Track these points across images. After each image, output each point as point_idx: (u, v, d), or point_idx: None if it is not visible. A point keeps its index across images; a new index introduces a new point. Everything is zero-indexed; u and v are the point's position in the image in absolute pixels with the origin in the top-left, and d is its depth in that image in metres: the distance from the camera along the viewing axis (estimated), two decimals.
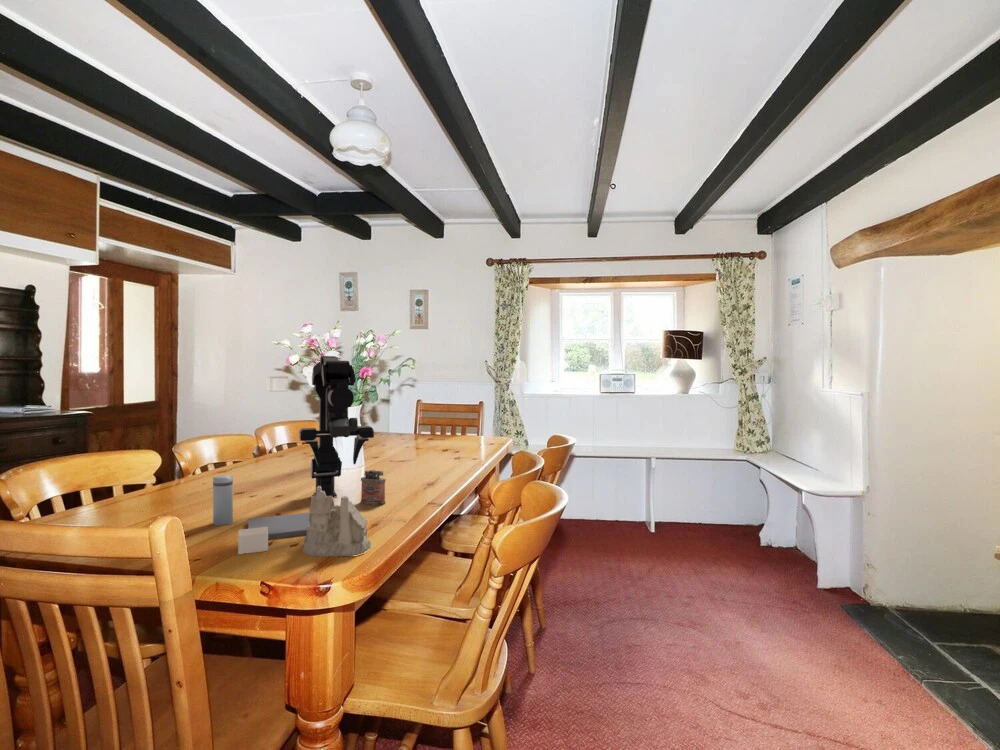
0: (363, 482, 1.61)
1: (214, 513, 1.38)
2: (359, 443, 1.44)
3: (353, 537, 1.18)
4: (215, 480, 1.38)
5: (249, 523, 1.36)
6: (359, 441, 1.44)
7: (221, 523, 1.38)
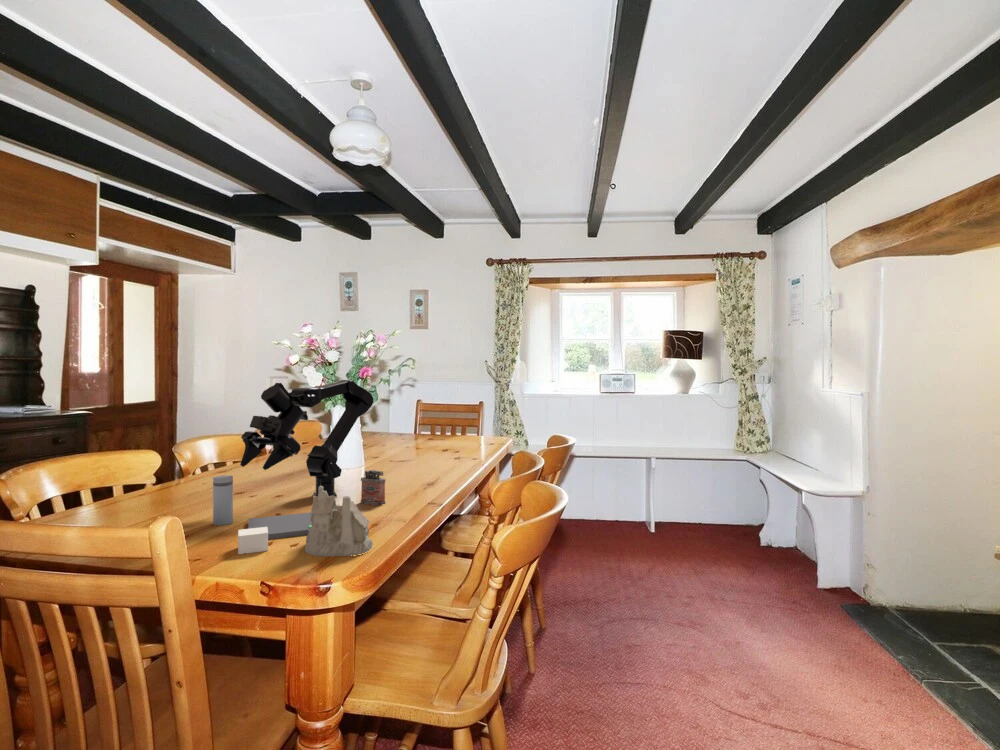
0: (363, 482, 1.61)
1: (214, 513, 1.38)
2: (274, 447, 1.46)
3: (355, 537, 1.19)
4: (215, 480, 1.38)
5: (249, 523, 1.36)
6: (274, 444, 1.46)
7: (221, 523, 1.38)
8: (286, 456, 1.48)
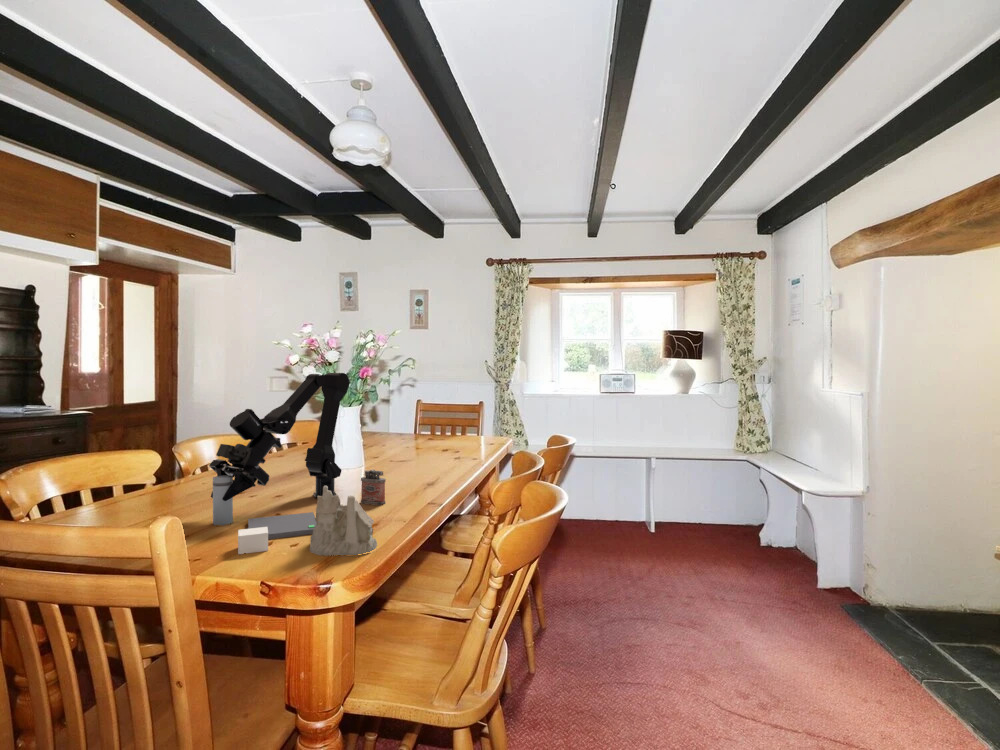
0: (363, 482, 1.61)
1: (214, 513, 1.38)
2: (235, 477, 1.39)
3: (360, 536, 1.19)
4: (215, 480, 1.38)
5: (249, 523, 1.36)
6: (235, 473, 1.39)
7: (221, 523, 1.38)
8: (248, 486, 1.41)
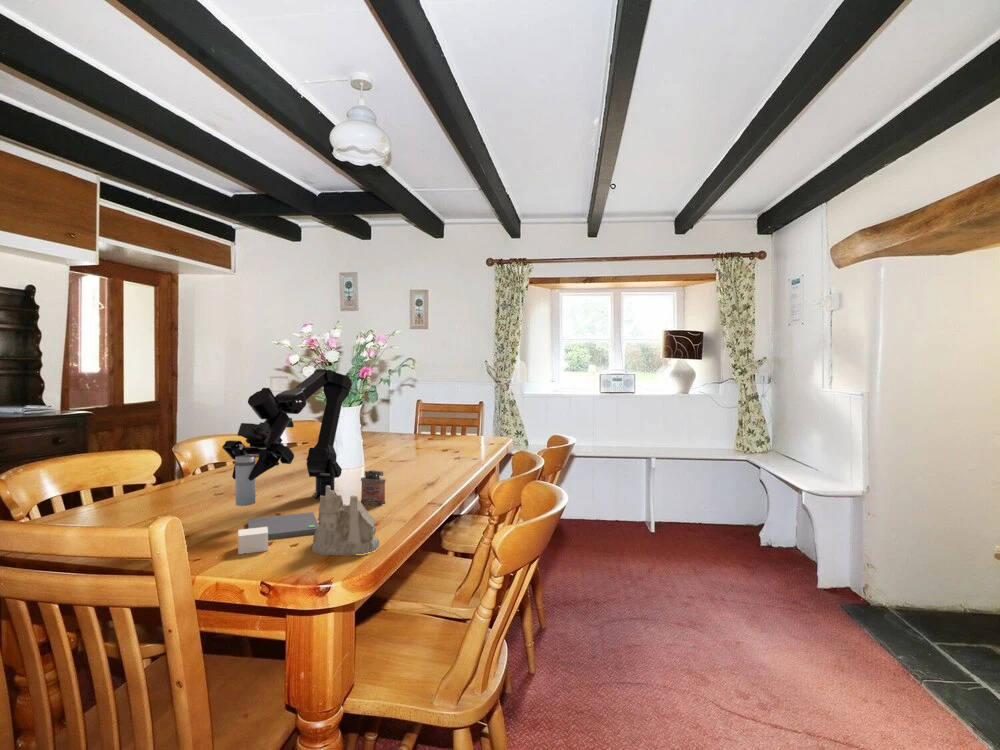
0: (363, 482, 1.61)
1: (239, 493, 1.35)
2: (260, 456, 1.37)
3: (363, 536, 1.19)
4: (239, 460, 1.34)
5: (249, 523, 1.36)
6: (260, 452, 1.37)
7: (246, 503, 1.35)
8: (272, 465, 1.40)
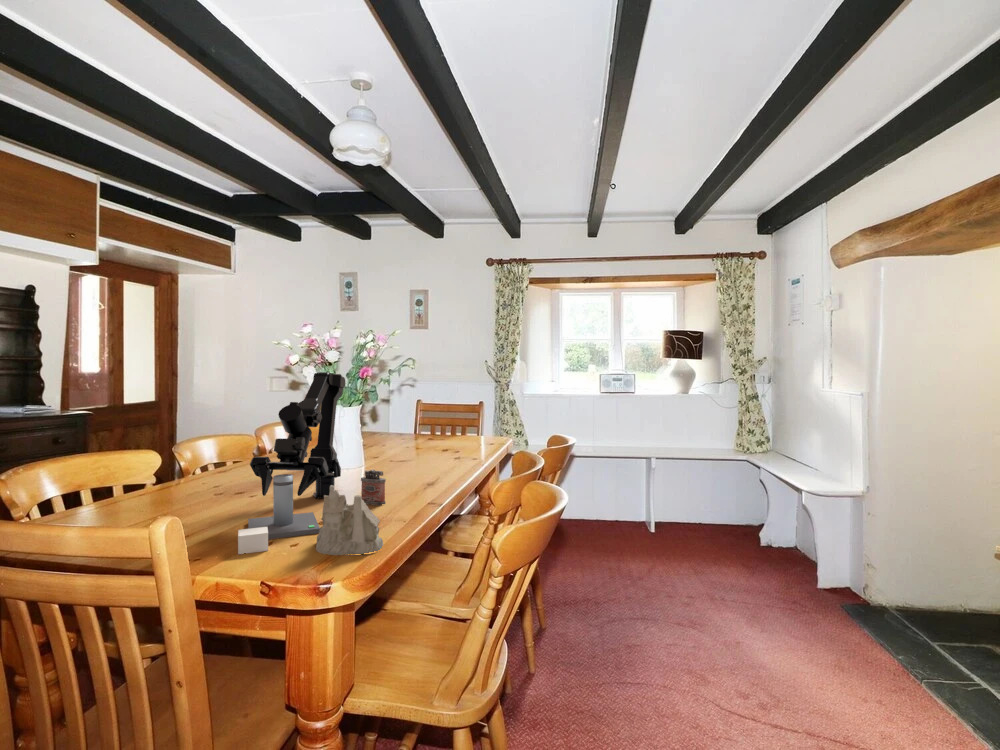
0: (363, 482, 1.61)
1: (280, 513, 1.34)
2: (306, 471, 1.37)
3: (366, 535, 1.20)
4: (281, 479, 1.33)
5: (249, 523, 1.36)
6: (305, 467, 1.37)
7: (287, 523, 1.34)
8: (313, 479, 1.40)
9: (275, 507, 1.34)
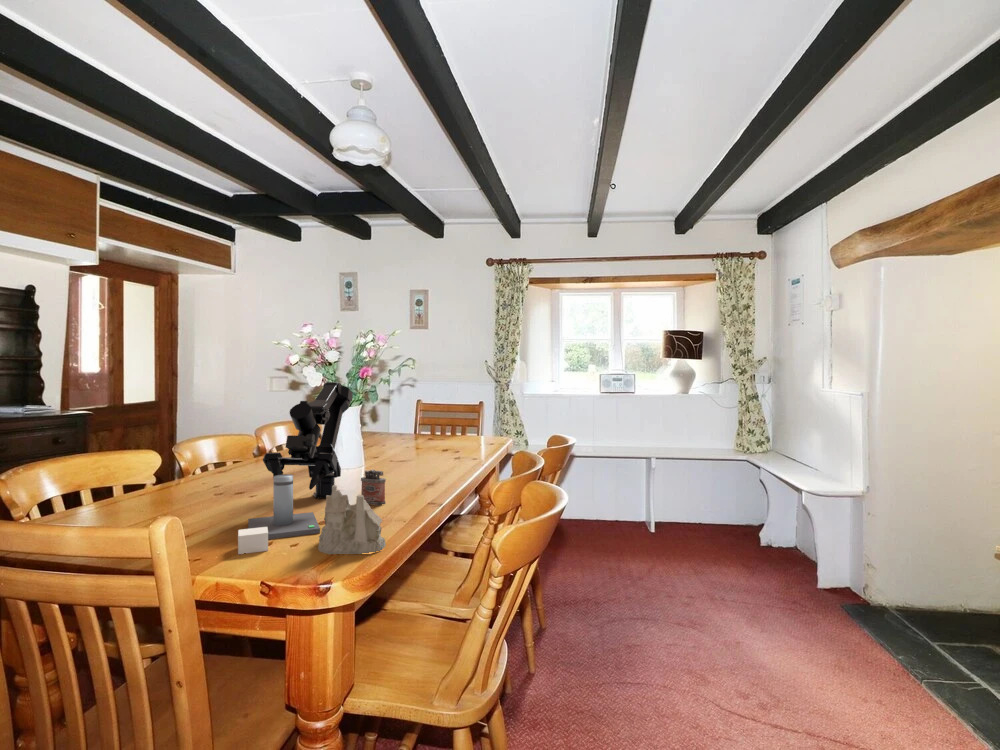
0: (363, 482, 1.61)
1: (280, 513, 1.34)
2: (317, 466, 1.45)
3: (369, 535, 1.20)
4: (281, 479, 1.33)
5: (249, 523, 1.36)
6: (316, 462, 1.45)
7: (287, 523, 1.34)
8: (324, 474, 1.48)
9: (275, 507, 1.34)
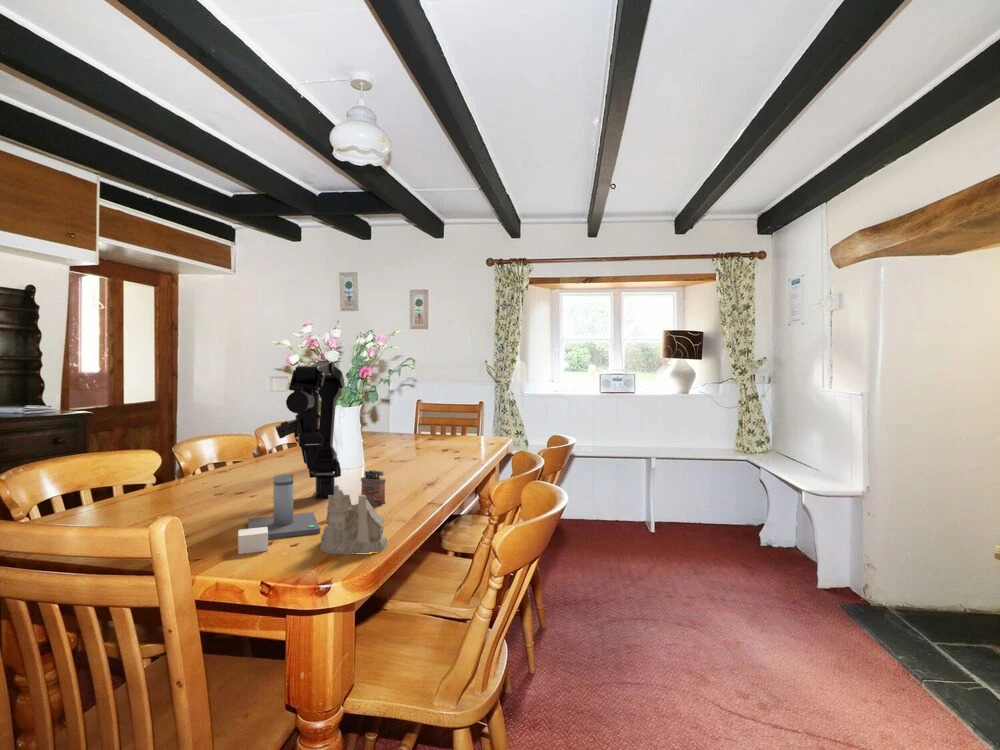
0: (363, 482, 1.61)
1: (280, 513, 1.34)
2: (302, 448, 1.45)
3: (371, 535, 1.20)
4: (281, 479, 1.33)
5: (249, 523, 1.36)
6: None
7: (287, 523, 1.34)
8: (319, 447, 1.46)
9: (275, 507, 1.34)
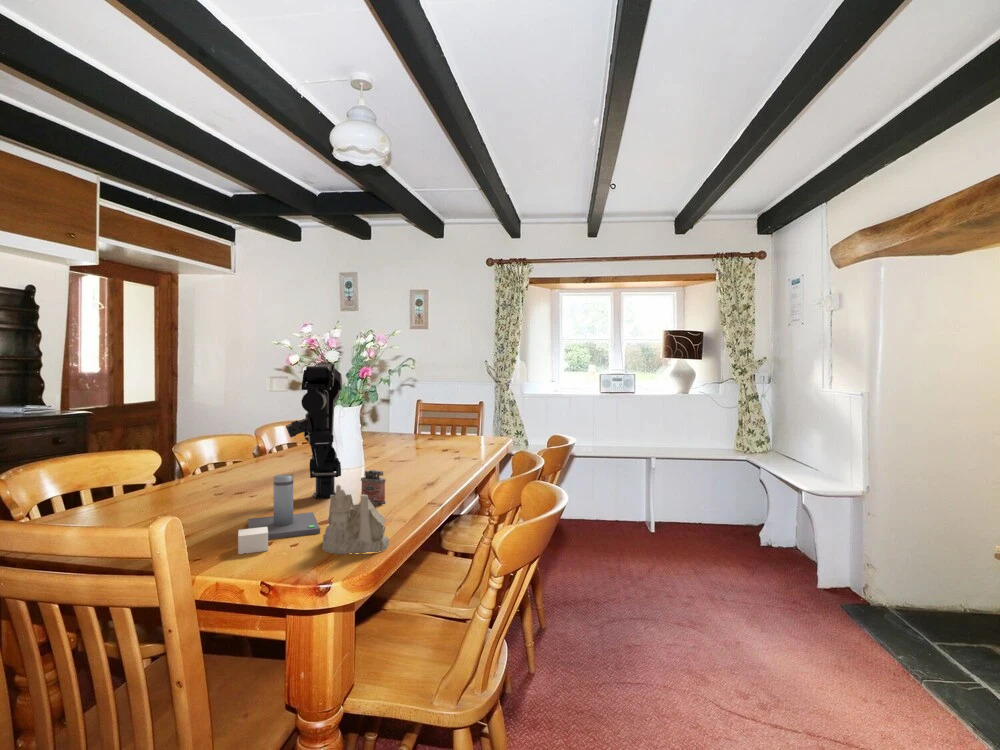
0: (363, 482, 1.61)
1: (280, 513, 1.34)
2: None
3: (373, 534, 1.20)
4: (281, 479, 1.33)
5: (249, 523, 1.36)
6: None
7: (287, 523, 1.34)
8: (329, 446, 1.48)
9: (275, 507, 1.34)
